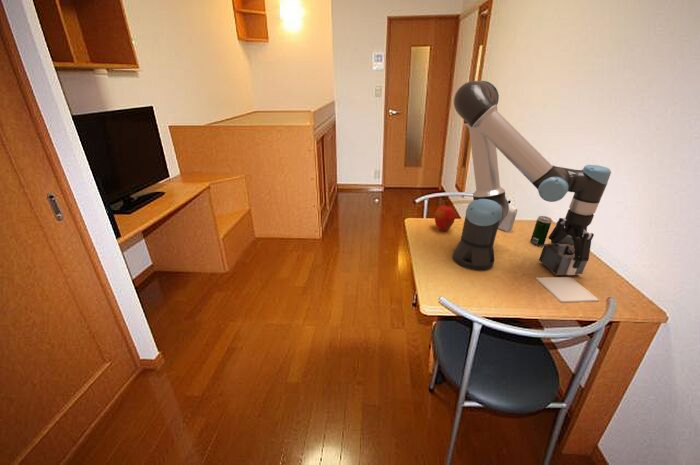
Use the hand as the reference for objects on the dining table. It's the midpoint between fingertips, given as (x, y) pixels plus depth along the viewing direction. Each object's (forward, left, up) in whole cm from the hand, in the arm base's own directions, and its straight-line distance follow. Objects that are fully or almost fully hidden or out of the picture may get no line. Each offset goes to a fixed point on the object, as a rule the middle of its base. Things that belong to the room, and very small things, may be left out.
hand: (560, 266), depth 119 cm
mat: (-6, -12, -2) cm, 14 cm away
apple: (-32, +36, -2) cm, 48 cm away
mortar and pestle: (+14, +18, -2) cm, 23 cm away
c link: (0, 0, 0) cm, 0 cm away
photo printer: (-3, +37, -2) cm, 37 cm away
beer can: (+5, +21, -2) cm, 21 cm away
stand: (+2, 0, -2) cm, 2 cm away
